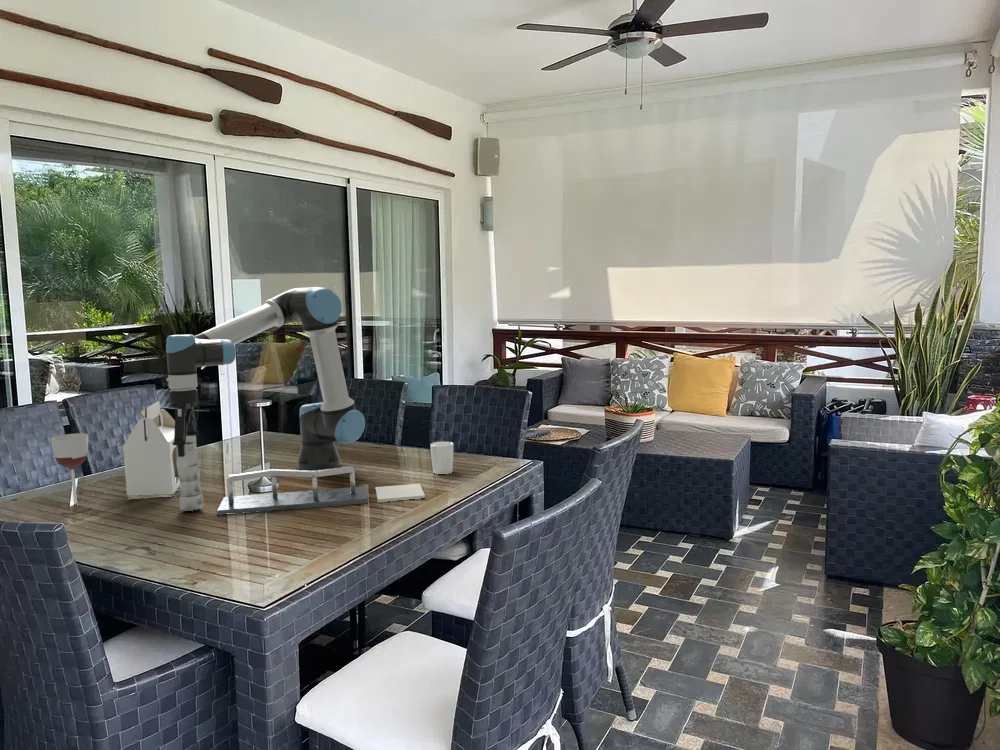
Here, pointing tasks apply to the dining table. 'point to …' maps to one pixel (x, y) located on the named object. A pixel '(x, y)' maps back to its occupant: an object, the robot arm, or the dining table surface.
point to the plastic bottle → (190, 482)
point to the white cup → (442, 457)
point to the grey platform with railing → (292, 498)
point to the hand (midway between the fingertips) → (187, 462)
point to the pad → (399, 492)
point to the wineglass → (70, 453)
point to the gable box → (151, 454)
